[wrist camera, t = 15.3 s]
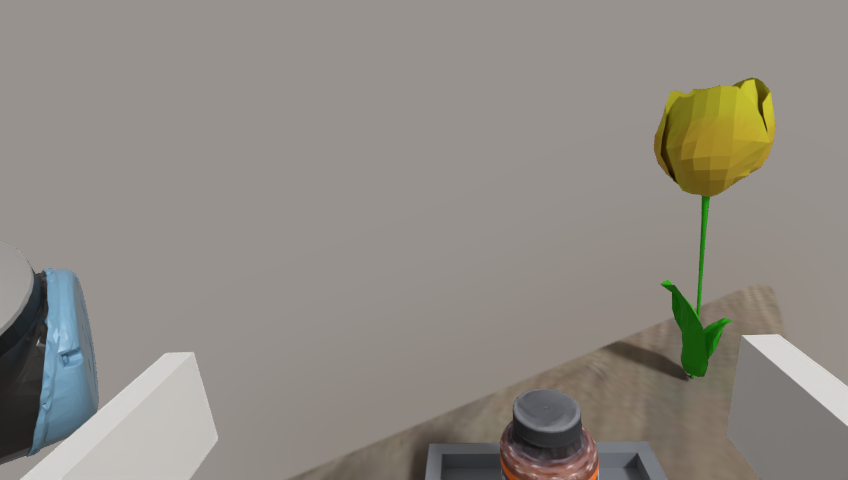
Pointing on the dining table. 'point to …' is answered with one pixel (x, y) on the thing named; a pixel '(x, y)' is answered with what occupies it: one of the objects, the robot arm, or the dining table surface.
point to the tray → (481, 463)
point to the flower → (711, 175)
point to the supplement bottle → (547, 440)
